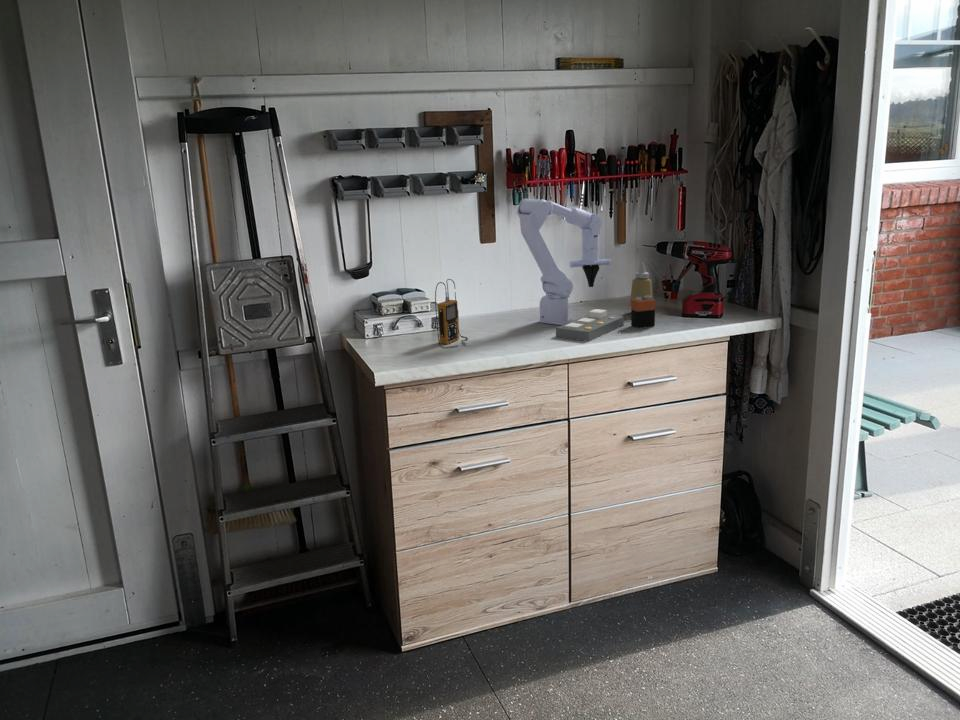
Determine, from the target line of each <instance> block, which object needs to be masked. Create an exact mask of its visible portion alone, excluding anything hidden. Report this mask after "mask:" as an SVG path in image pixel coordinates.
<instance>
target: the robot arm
mask: <svg viewBox="0 0 960 720" xmlns="http://www.w3.org/2000/svg"><path fill="white" fill-rule="evenodd" d="M516 214H517V217H518V218H519V225H520V226H519V227H520V232H521V235H522V237H523V239H524V241H525V243H526V245H527V246H528V249H529V251H530V253H531V254H532V256H533V258H534V260H535V263H536V264H537V266H538V268H539V270H540V273H541V274H542V275H541V277H540V281H541V283H542V285H541V286H542V290H543V292H544V293H545V295H543V296H542V297H541V298H540V300H539V320H538V323H541V324H550V325H556V326H557V325H558V326H561V325H564V324H566V323H569V322H571V321H574V319H573V318H569V298H570V295H571V294H572V292H573V289H574V285H573V282H572V280H571V279H570V278H568V277H567V276H566V274H565V273H564V272H562V271H561V270H560V268H558V266H557V264H556V262H555V260H554V258H553V255H552V254H551V252H550V249H549V248H548V246H547V244H546V242H545V240H544V237H543V236H542V234H541V232H540V229H542V226H543V225H544V223H545V221H546V220H547V218H548V216H551V215H555V216H558V217H562V218H564V220H565V222H567V224H571V225H573V226H575V227H578V228H580V229H581V239H582V241H581V244H582V248H581V251H582V255H581V258H582V259H580V260H579V259H578V260H573V261H572V260H570V261H569V268H571V269H572V268H580V267H581V268H582V270H583V272H584V274H585V277H586V280H587V285H588V286H587V287H588V288H593V287H595V286H594V285H595V279H596V277H597V275H598V273H599V271H600V266H612V265H613V264H612V262H613V261H612V260H613V259H611V258H600V238H599V237H600V233H601V228H602V226H603V223H604V221H603V220H602V217H601V216H600V215H599V214H598V213H595V212H590V210H588V209H585V210H584V209H582V208H580V206H579V205H574V206H573V205H572V206H570V207H566V206H563V205H560V204H559V203H556V202H554V201H551V200H546V199H533V198H532V199H531V198H527V197H526V198H523V199H520V202H519V204H518V206H517V210H516Z"/></svg>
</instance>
